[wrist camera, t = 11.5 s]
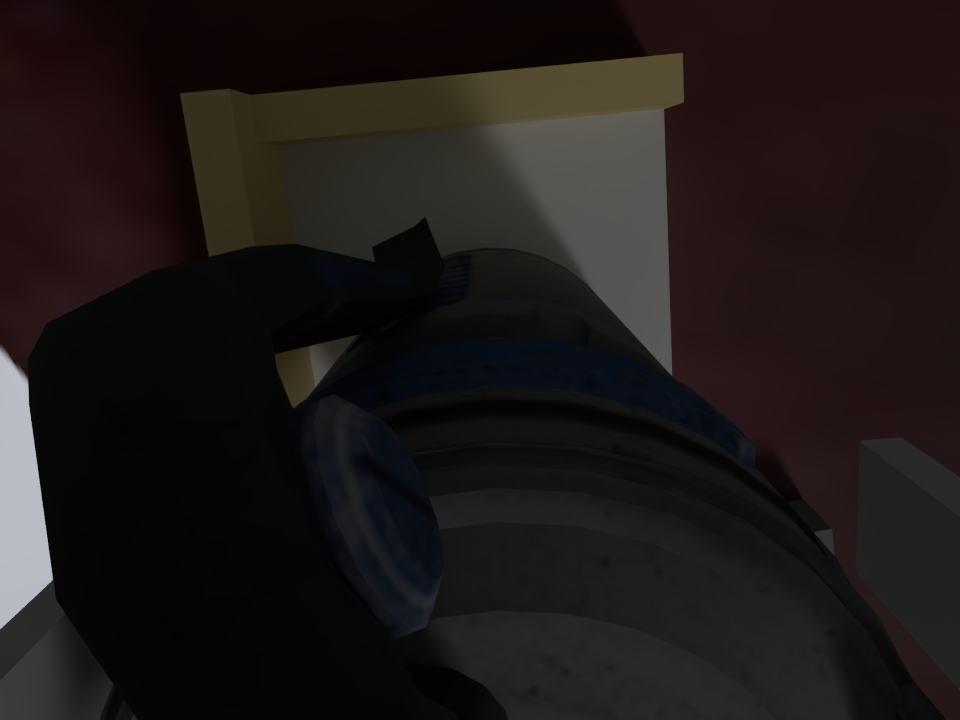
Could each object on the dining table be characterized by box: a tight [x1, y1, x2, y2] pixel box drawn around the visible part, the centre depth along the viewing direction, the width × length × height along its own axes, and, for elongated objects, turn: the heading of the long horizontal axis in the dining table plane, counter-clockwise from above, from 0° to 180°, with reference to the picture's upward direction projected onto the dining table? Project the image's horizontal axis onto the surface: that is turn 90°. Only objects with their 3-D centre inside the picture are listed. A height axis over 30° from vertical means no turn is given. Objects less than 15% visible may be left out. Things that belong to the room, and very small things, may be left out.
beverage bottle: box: [28, 217, 945, 720], centre depth 17 cm, size 10×13×25 cm
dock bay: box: [180, 53, 684, 408], centre depth 28 cm, size 20×16×6 cm
